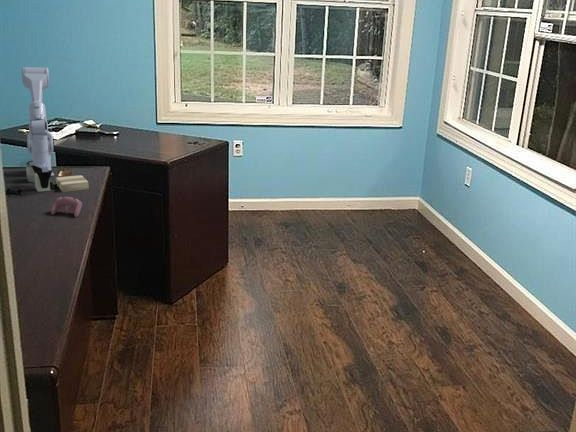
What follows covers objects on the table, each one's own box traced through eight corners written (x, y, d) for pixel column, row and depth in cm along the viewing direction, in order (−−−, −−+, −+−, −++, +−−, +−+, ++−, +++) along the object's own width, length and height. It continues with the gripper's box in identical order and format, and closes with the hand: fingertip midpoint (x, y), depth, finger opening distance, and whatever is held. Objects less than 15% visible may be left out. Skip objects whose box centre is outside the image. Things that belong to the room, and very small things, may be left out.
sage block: (35, 188, 235) (34, 173, 233) (47, 187, 238) (46, 172, 236) (37, 191, 232) (36, 176, 230) (50, 190, 234) (49, 175, 232)
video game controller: (81, 218, 213) (84, 199, 214) (76, 216, 208) (79, 197, 209) (54, 215, 214) (57, 196, 214) (49, 214, 209) (52, 194, 210)
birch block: (56, 184, 241) (56, 177, 240) (82, 182, 246) (81, 175, 245) (62, 192, 233) (62, 184, 232) (88, 189, 238) (88, 182, 237)
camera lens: (31, 177, 247) (29, 159, 244) (46, 179, 247) (45, 160, 244) (24, 182, 241) (22, 163, 238) (39, 183, 241) (38, 164, 238)
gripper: (25, 147, 233) (27, 180, 238) (32, 156, 222) (35, 191, 226) (44, 146, 237) (46, 179, 241) (52, 155, 225) (55, 189, 230)
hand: (42, 185), depth 234 cm, fingers open, 7 cm apart
